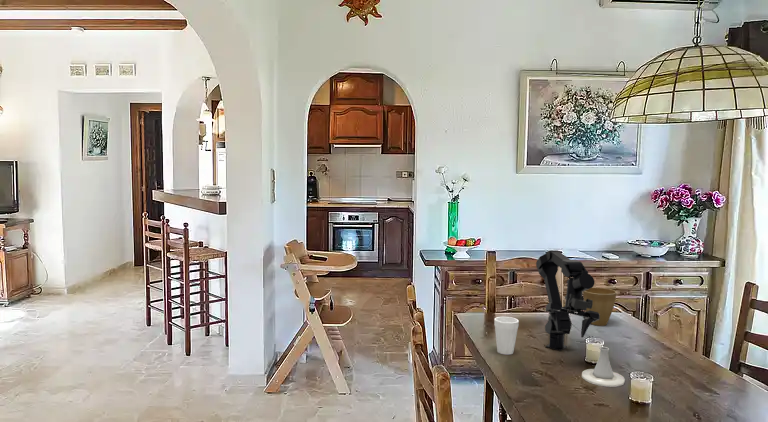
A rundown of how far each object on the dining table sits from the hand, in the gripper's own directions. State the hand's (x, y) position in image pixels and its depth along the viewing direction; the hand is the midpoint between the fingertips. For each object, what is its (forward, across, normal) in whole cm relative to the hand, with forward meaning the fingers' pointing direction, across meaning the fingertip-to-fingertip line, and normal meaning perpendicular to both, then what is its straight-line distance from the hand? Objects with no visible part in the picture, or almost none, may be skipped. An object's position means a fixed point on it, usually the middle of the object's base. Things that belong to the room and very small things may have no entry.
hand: (570, 334), depth 210 cm
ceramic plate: (+14, +11, -6) cm, 19 cm away
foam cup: (+9, -18, +20) cm, 28 cm away
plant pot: (-19, +34, +55) cm, 67 cm away
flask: (+13, +11, -6) cm, 18 cm away
